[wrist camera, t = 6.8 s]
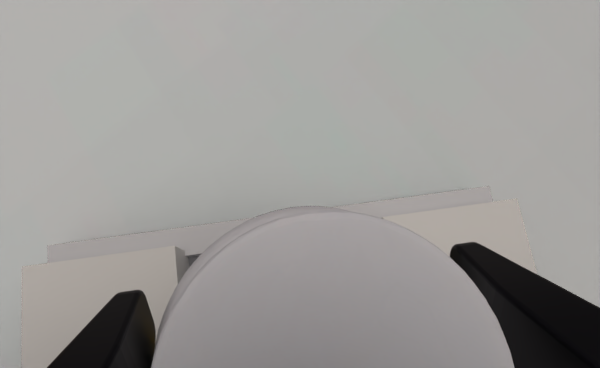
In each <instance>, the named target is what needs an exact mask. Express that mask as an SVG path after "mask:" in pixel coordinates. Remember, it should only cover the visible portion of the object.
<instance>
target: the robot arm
mask: <svg viewBox="0 0 600 368" xmlns="http://www.w3.org/2000/svg"><path fill="white" fill-rule="evenodd" d="M450 258H451V259H452V260H453V261H455V262H456V263H457V264H458V265H459V266H460V267H461V268H462V269H463V270H464V271H465V272H466V274H467V275H468V276H469V277H470V279H471V280H472V281H473V282H474V284H475V285H476V286H477V288H478V289H479V290H480V292H481V293H482V294H483V296H484V297H485V299H486V300H487V302H488V304H489V306H490V307H491V309H492V311H493V312H494V314H495V316H496V317H497V319H498V322H499V324H500V326H501V329H502V331H503V334H504V336H505V339H506V341H507V344H508V347H509V349H510V352H511V356H512V360H513V364H514V367H515V368H600V308H599V307H597V306H595V305H594V304H592V303H590V302H588V301H586V300H584V299H582V298H580V297H579V296H577V295H575V294H573V293H571V292H569V291H567V290H565V289H564V288H562V287H560V286H558V285H556V284H554V283H552V282H550V281H549V280H547V279H545V278H543V277H541V276H539V275H537V274H535V273H534V272H532V271H530V270H528V269H526V268H524V267H522V266H520V265H519V264H517V263H515V262H513V261H511V260H509V259H507V258H505V257H504V256H502V255H500V254H498V253H496V252H494V251H492V250H490V249H489V248H487V247H485V246H483V245H481V244H479V243H477V242H467V243H460V244H455V245H454V246H452V248H451V251H450ZM155 341H156V330H155V324H154V320H153V317H152V314H151V311H150V308H149V305H148V302H147V299H146V296H145V294H144V292H143V291H141V290H131V291H124V292H119V293H117V294H116V295H114V296H113V297H112V298H111V300H110V301H109V302H108V303H107V304H106V305H105V306H104V307H103V308H102V309H101V310H100V311H99V312H98V313H97V314H96V316H95V317H94V318H93V319H92V320H91V321H90V322H89V323H88V324H87V325H86V326H85V327H84V328H83V329H82V330H81V332H80V333H79V334H78V335H77V336H76V337H75V338H74V339H73V340H72V341H71V342H70V343H69V344H68V345H67V346H66V348H65V349H64V350H63V351H62V352H61V353H60V354H59V355H58V356H57V357H56V358H55V359H54V360H53V361H52V362H51V364H50V365H49V366H48V367H47V368H151V366H152V361H153V355H154V349H155Z"/></svg>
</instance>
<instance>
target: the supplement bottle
mask: <svg viewBox="0 0 600 368" xmlns="http://www.w3.org/2000/svg"><path fill="white" fill-rule="evenodd" d="M151 368H515V367H514V364H513V360H512V356H511V352H510V349H509V347H508V344H507V341H506V339H505V336H504V334H503V331H502V329H501V326H500V324H499V322H498V319H497V317H496V316H495V314H494V312H493V311H492V309H491V307H490V306H489V304H488V302H487V300H486V299H485V297H484V296H483V294H482V293H481V292H480V290H479V289H478V288H477V286H476V285H475V284H474V282H473V281H472V280H471V279H470V277H469V276H468V275H467V274H466V272H465V271H464V270H463V269H462V268H461V267H460V266H459V265H458V264H457V263H456V262H455V261H453V260H452V259H451V258H450V257H449V256H448V255H447V254H446V253H444V252H443V251H442V250H441V249H439V248H438V247H437V246H436V245H434V244H433V243H431V242H430V241H428V240H427V239H425V238H423V237H422V236H420V235H418V234H416V233H415V232H413V231H411V230H409V229H407V228H405V227H403V226H401V225H398V224H396V223H394V222H391V221H388V220H385V219H382V218H379V217H375V216H371V215H367V214H363V213H356V212H352V211H348V210H344V209H338V208H331V207H322V206H302V207H291V208H286V209H281V210H277V211H272V212H269V213H266V214H263V215H260V216H257V217H255V218H252V219H250V220H248V221H246V222H244V223H242V224H240V225H238V226H237V227H235V228H233V229H231V230H230V231H228V232H227V233H226V234H224V235H223V236H221V237H220V238H219V239H217V240H216V241H215V242H214V243H213V244H211V245H210V246H209V247H208V248H207V249H206V250H205V251H204V252H203V253H202V254H201V255H200V256H199V257H198V258H197V259H196V260H195V261H194V263H193V264H192V265H191V266H190V267H189V269H188V270H187V271H186V273H185V274H184V276H183V277H182V279H181V280H180V282H179V283H178V285H177V286H176V288H175V290H174V292H173V294H172V296H171V298H170V300H169V302H168V304H167V307H166V309H165V311H164V314H163V317H162V320H161V323H160V326H159V329H158V334H157V339H156V343H155V349H154V355H153V361H152V366H151Z"/></svg>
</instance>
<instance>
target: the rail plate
mask: <svg viewBox="0 0 600 368" xmlns="http://www.w3.org/2000/svg"><path fill="white" fill-rule="evenodd" d="M331 208H338V209H344V210H348V211H352V212H356V213H363V214H367V215H371V216H375V217H379V218H382V219H385V220H388V221H391V222H394V223H396V224H398V225H401V226H403V227H405V228H407V229H409V230H411V231H413V232H415V233H416V234H418V235H420V236H422V237H423V238H425V239H427V240H428V241H430V242H431V243H433V244H434V245H436V246H437V247H438V248H439V249H441V250H442V251H443V252H444V253H446V254H447V255H448V256H449V257H450V251H451V248H452V246H454V245H455V244H460V243H467V242H477V243H479V244H481V245H483V246H485V247H487V248H489V249H490V250H492V251H494V252H496V253H498V254H500V255H502V256H504V257H505V258H507V259H509V260H511V261H513V262H515V263H517V264H519V265H520V266H522V267H524V268H526V269H528V270H530V271H532V272H534V273H535V274H537V271H536V267H535V264H534V260H533V256H532V252H531V249H530V245H529V241H528V237H527V234H526V230H525V226H524V223H523V219H522V215H521V211H520V208H519V204H518V200H517V199H510V200H503V201H496V202H493V199H492V195H491V191H490V187H489V186H486V187H478V188H471V189H464V190H456V191H449V192H441V193H434V194H426V195H419V196H411V197H404V198H397V199H389V200H382V201H374V202H367V203H359V204H352V205H344V206H337V207H331ZM250 219H252V218H248V219H240V220H233V221H225V222H218V223H211V224H203V225H196V226H188V227H181V228H173V229H166V230H158V231H151V232H144V233H136V234H129V235H121V236H114V237H106V238H99V239H91V240H84V241H77V242H69V243H62V244H54V245H47V251H48V263H45V264H38V265H30V266H23V267H22V355H21V368H47V367H48V366H49V365H50V364H51V362H52V361H53V360H54V359H55V358H56V357H57V356H58V355H59V354H60V353H61V352H62V351H63V350H64V349H65V348H66V346H67V345H68V344H69V343H70V342H71V341H72V340H73V339H74V338H75V337H76V336H77V335H78V334H79V333H80V332H81V330H82V329H83V328H84V327H85V326H86V325H87V324H88V323H89V322H90V321H91V320H92V319H93V318H94V317H95V316H96V314H97V313H98V312H99V311H100V310H101V309H102V308H103V307H104V306H105V305H106V304H107V303H108V302H109V301H110V300H111V298H112V297H113V296H114V295H116V294H117V293H119V292H124V291H131V290H141V291H143V292H144V294H145V296H146V299H147V302H148V305H149V308H150V311H151V314H152V317H153V320H154V324H155V330H156V339H157V334H158V329H159V326H160V323H161V320H162V317H163V314H164V311H165V309H166V307H167V304H168V302H169V300H170V298H171V296H172V294H173V292H174V290H175V288H176V286H177V285H178V283H179V282H180V280H181V279H182V277H183V276H184V274H185V273H186V271H187V270H188V269H189V267H190V266H191V265H192V264H193V263H194V261H195V260H196V259H197V258H198V257H199V256H200V255H201V254H202V253H203V252H204V251H205V250H206V249H207V248H208V247H209V246H210V245H211V244H213V243H214V242H215V241H216V240H217V239H219V238H220V237H221V236H223V235H224V234H226V233H227V232H228V231H230V230H231V229H233V228H235V227H237V226H238V225H240V224H242V223H244V222H246V221H248V220H250ZM155 343H156V341H155Z"/></svg>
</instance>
